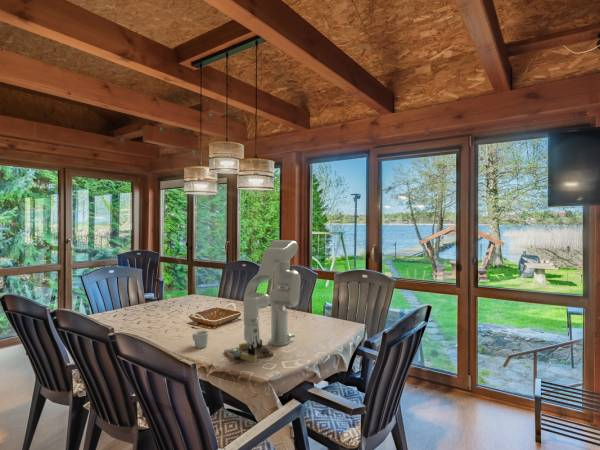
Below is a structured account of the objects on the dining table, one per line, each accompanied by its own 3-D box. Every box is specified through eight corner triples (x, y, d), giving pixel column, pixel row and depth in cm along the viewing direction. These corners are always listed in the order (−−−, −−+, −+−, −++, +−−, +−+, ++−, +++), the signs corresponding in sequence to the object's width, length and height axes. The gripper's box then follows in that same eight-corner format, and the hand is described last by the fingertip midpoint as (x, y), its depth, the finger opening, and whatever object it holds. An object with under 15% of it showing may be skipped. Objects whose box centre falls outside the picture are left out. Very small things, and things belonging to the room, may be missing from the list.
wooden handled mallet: (231, 358, 179) (231, 352, 179) (237, 355, 183) (237, 349, 183) (253, 363, 173) (253, 357, 173) (258, 360, 177) (258, 354, 176)
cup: (187, 346, 201) (187, 332, 201) (198, 342, 208) (198, 328, 207) (200, 350, 195) (200, 336, 195) (211, 346, 202) (211, 332, 201)
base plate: (259, 345, 202) (259, 339, 202) (273, 355, 187) (273, 349, 186) (224, 352, 191) (224, 346, 191) (235, 364, 176) (235, 357, 176)
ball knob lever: (260, 343, 199) (260, 338, 199) (263, 346, 195) (263, 340, 195) (238, 348, 193) (238, 342, 193) (241, 350, 189) (240, 345, 189)
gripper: (264, 323, 176) (264, 359, 176) (252, 315, 188) (252, 349, 189) (250, 325, 172) (250, 362, 172) (238, 318, 185) (239, 352, 185)
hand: (251, 356), depth 181 cm, fingers closed
